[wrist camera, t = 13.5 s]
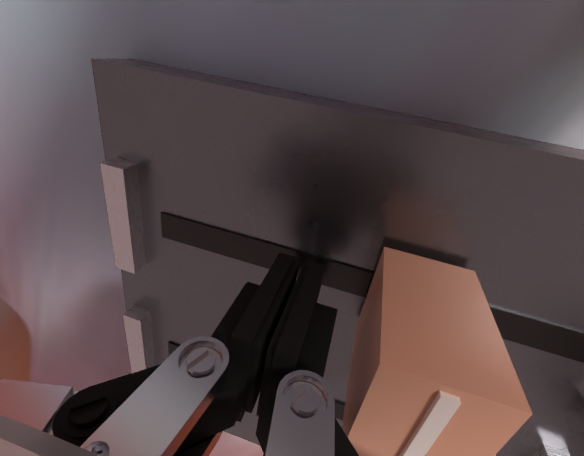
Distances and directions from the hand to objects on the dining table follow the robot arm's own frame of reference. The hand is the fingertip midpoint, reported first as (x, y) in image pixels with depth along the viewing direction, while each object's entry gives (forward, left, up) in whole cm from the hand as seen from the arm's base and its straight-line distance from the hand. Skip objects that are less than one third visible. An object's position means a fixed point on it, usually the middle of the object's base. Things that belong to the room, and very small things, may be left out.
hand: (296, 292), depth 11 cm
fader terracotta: (0, +4, -1) cm, 4 cm away
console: (+4, +2, -4) cm, 6 cm away
